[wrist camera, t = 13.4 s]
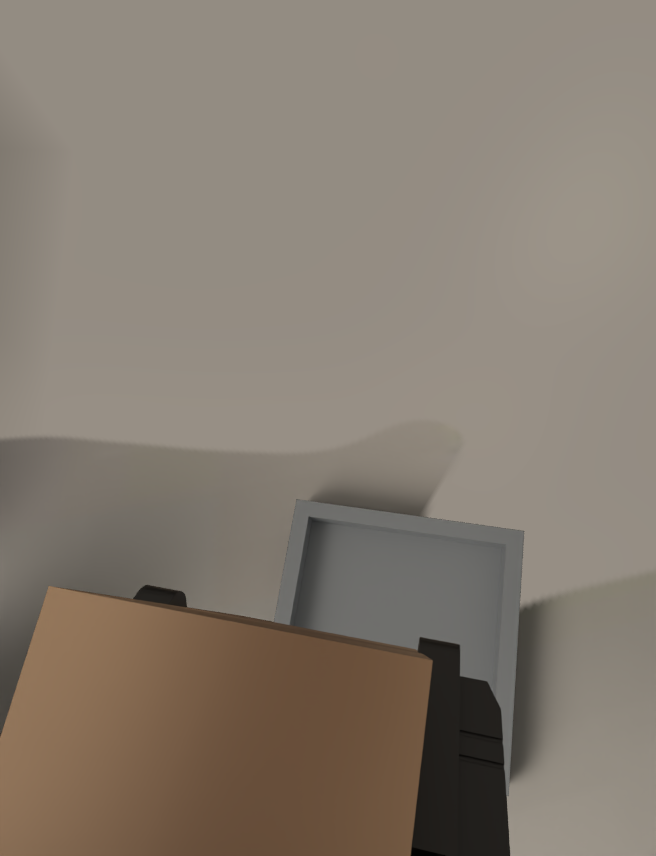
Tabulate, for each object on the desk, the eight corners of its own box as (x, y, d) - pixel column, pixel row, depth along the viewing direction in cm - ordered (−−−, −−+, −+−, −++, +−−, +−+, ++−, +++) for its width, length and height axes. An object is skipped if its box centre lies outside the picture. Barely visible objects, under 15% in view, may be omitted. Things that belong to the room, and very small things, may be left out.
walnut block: (197, 814, 14) (-109, 1074, 6) (240, 615, 16) (48, 586, 7) (388, 863, 13) (365, 1247, 5) (415, 648, 15) (433, 659, 6)
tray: (260, 735, 29) (251, 741, 27) (301, 506, 33) (296, 499, 31) (501, 786, 27) (508, 796, 25) (517, 536, 31) (524, 530, 29)
